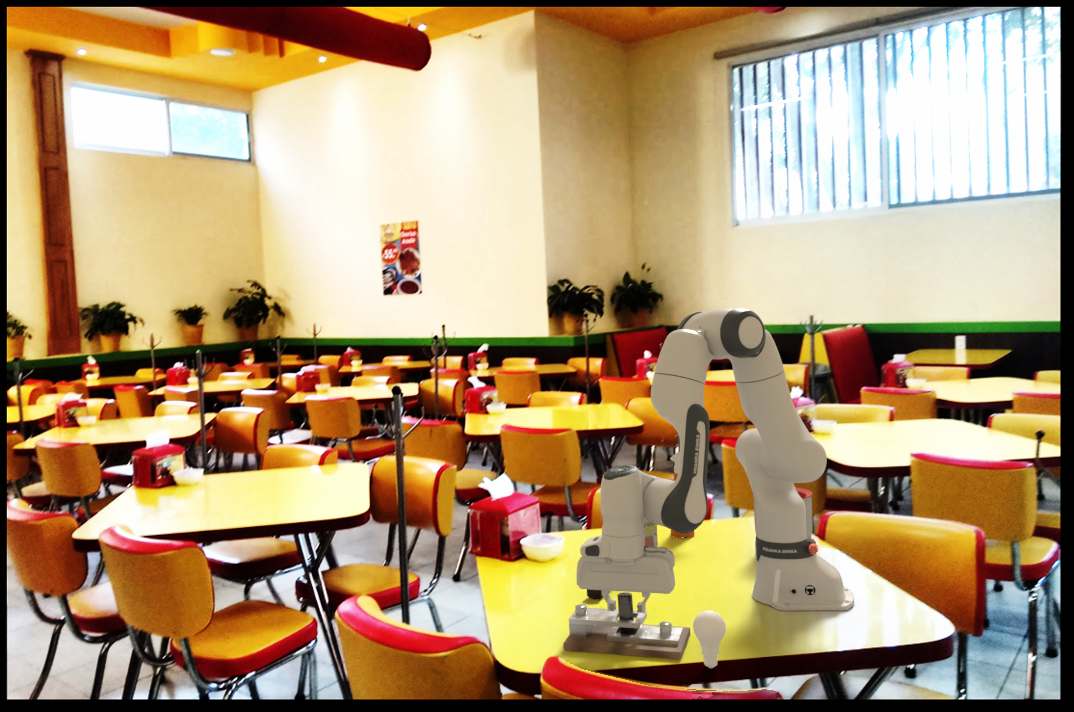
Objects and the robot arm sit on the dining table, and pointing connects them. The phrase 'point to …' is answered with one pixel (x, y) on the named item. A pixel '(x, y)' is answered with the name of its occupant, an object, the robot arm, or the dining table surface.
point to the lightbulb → (709, 635)
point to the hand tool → (594, 594)
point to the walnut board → (625, 645)
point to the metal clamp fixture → (589, 617)
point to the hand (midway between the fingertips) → (626, 611)
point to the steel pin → (626, 611)
